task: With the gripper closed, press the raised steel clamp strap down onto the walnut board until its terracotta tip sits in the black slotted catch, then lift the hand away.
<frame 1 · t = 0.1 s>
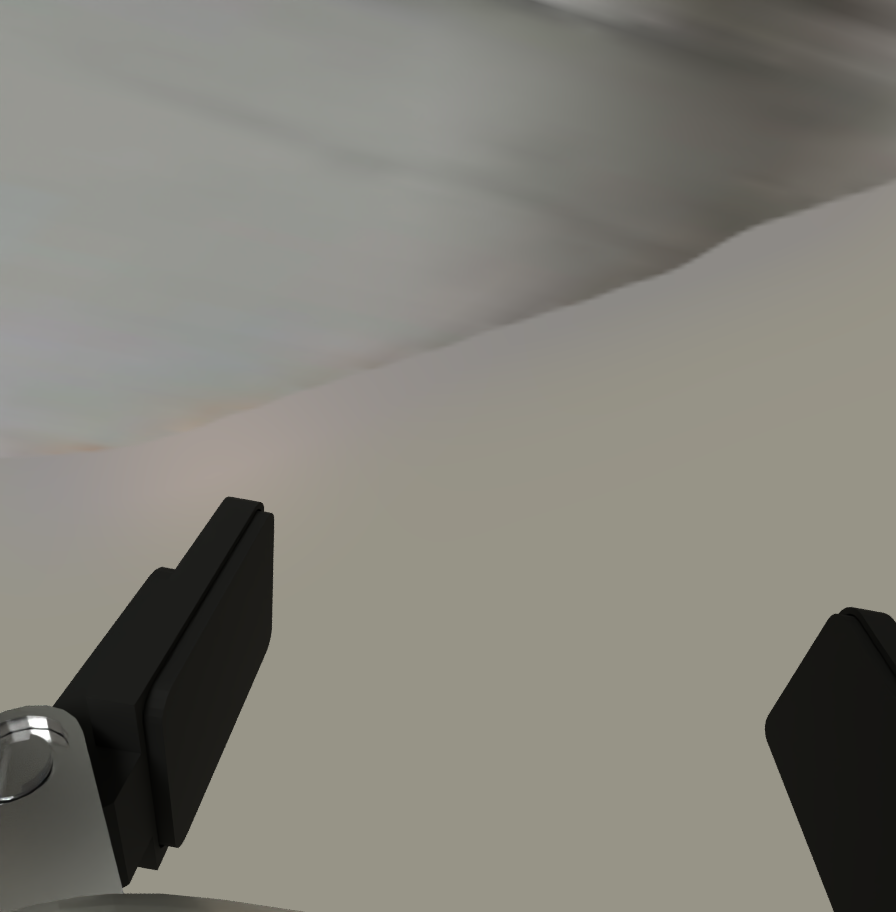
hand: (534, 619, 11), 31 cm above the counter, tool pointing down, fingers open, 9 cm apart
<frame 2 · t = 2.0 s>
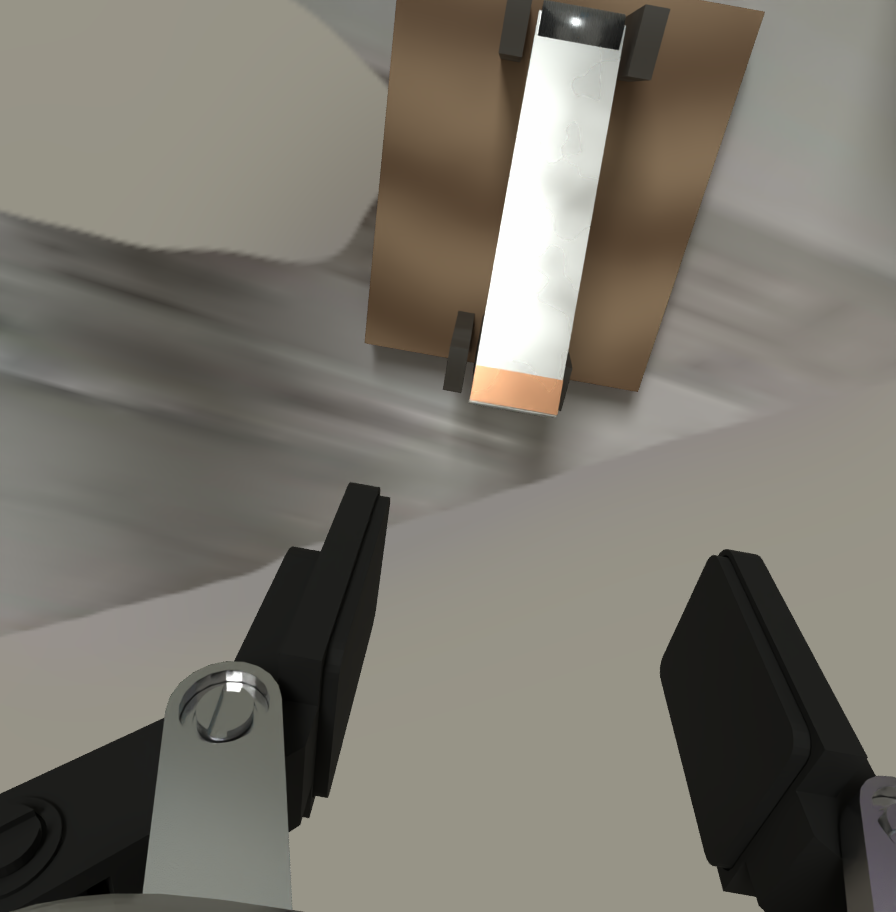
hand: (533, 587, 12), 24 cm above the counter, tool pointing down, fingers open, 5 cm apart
strap: (546, 211, 22), point 9 cm above the counter, hinge at 30.0°
clamp board: (535, 194, 30), on the counter
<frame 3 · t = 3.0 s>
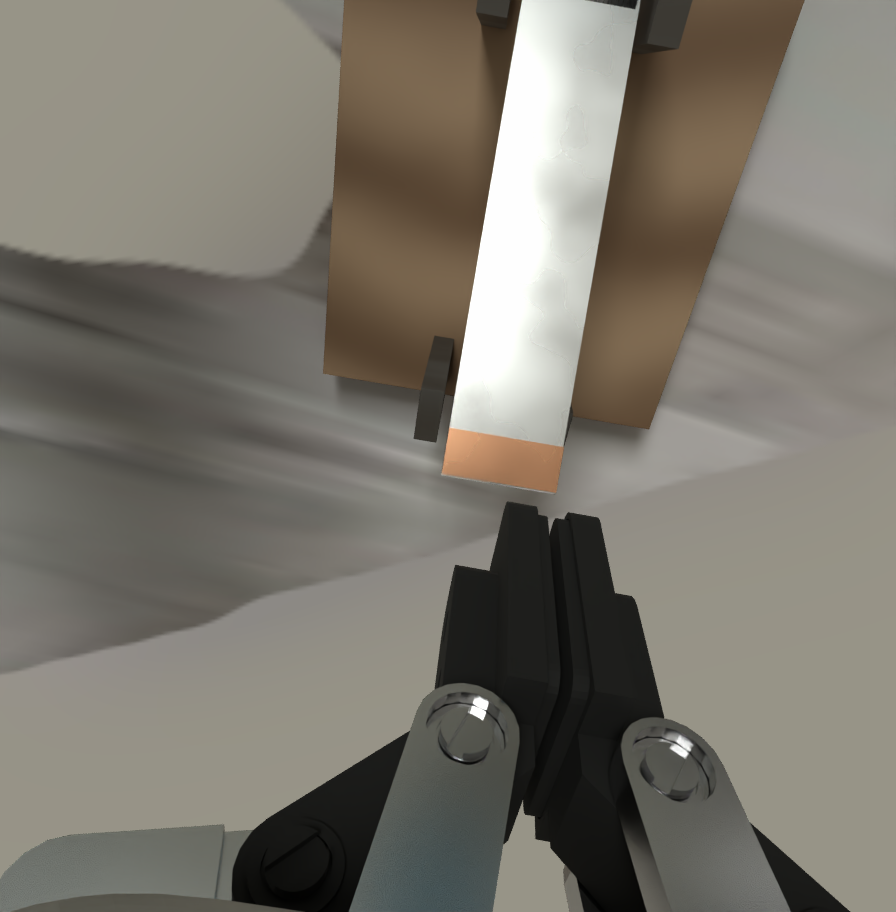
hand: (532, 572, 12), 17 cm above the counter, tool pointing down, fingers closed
strap: (541, 223, 17), point 9 cm above the counter, hinge at 30.0°
clamp board: (525, 194, 25), on the counter
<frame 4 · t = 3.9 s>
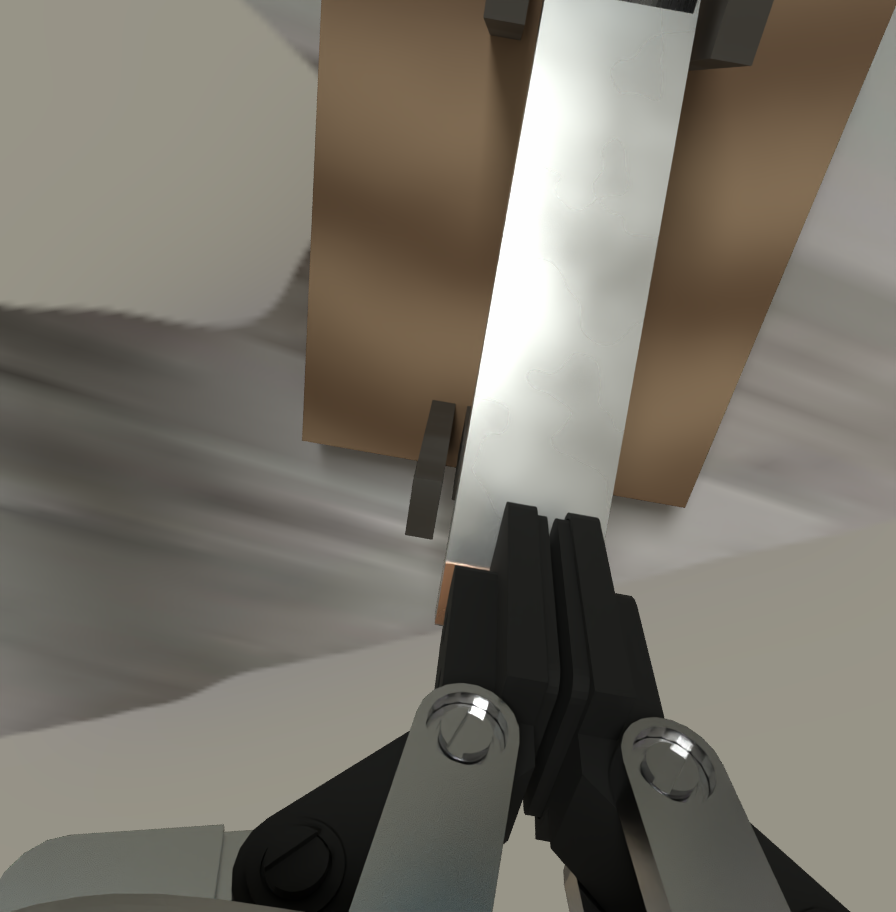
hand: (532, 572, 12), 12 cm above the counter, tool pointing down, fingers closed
strap: (567, 290, 13), point 9 cm above the counter, hinge at 30.0°, touching gripper
clamp board: (541, 235, 21), on the counter
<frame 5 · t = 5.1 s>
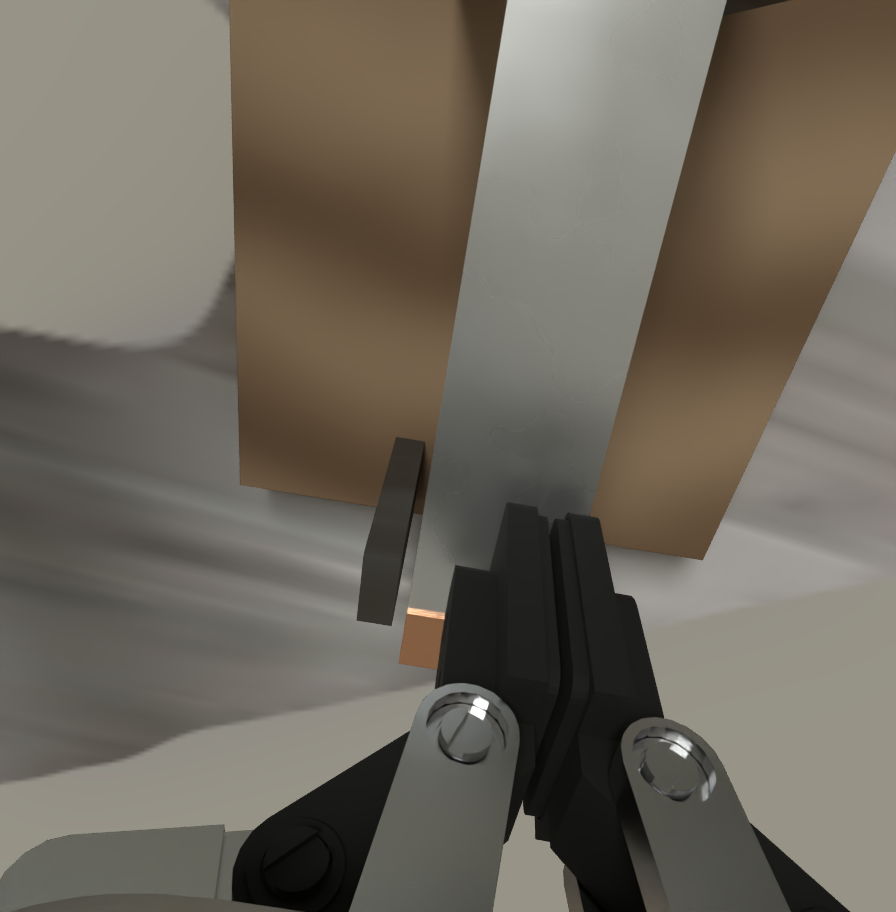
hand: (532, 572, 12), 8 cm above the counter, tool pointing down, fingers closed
strap: (542, 326, 11), point 7 cm above the counter, hinge at 10.8°, touching gripper
clamp board: (528, 234, 17), on the counter
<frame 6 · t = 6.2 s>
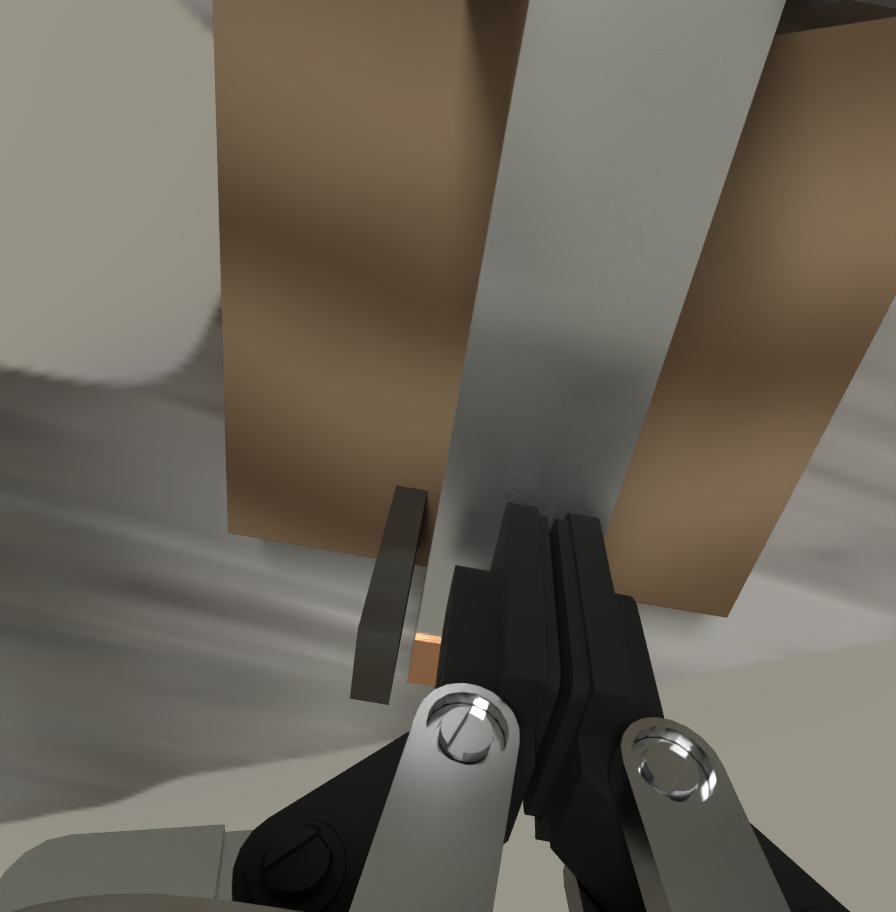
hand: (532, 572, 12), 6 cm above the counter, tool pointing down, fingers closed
strap: (555, 372, 11), point 6 cm above the counter, hinge at 2.3°, touching gripper
clamp board: (540, 269, 15), on the counter
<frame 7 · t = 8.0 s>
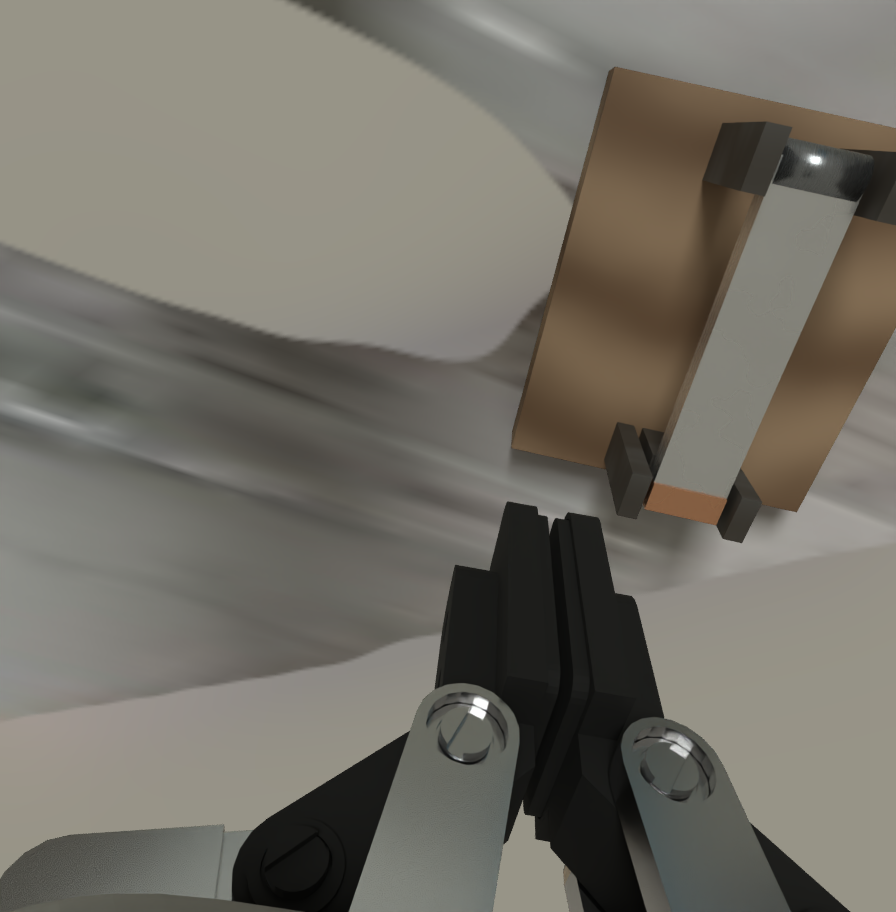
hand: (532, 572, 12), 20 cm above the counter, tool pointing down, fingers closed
strap: (742, 351, 24), point 6 cm above the counter, hinge at 2.2°
clamp board: (706, 307, 29), on the counter
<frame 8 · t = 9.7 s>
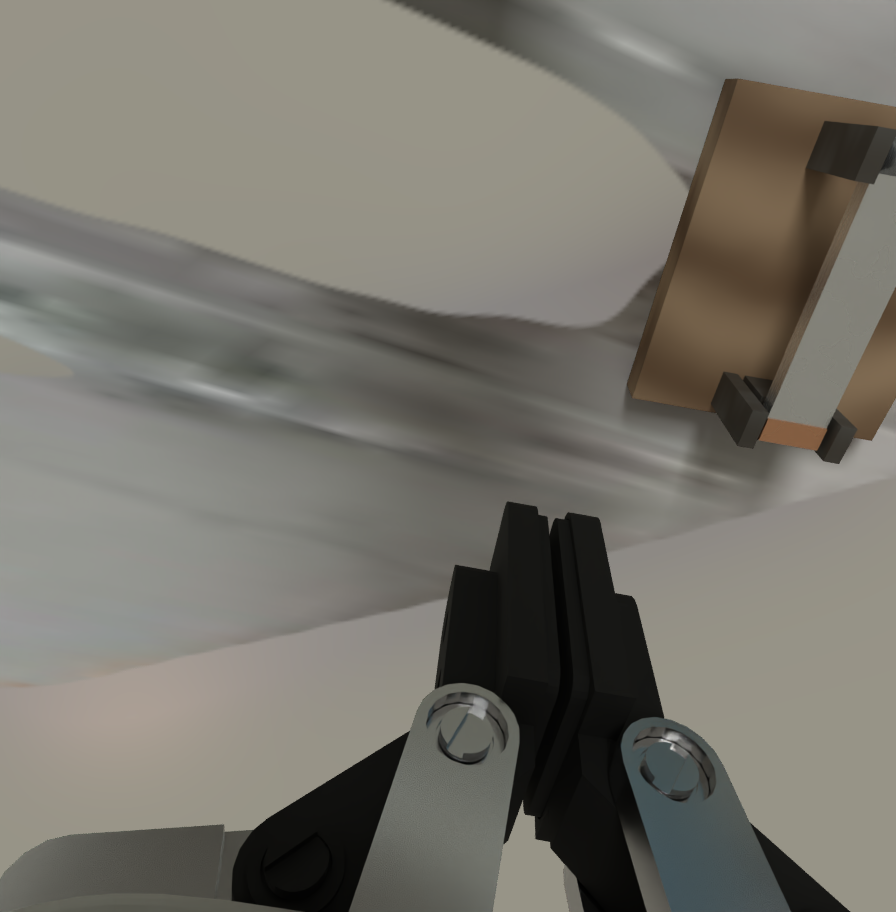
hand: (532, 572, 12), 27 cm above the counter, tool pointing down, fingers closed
strap: (843, 307, 30), point 6 cm above the counter, hinge at 2.2°
clamp board: (798, 272, 35), on the counter
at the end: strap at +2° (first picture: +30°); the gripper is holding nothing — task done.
